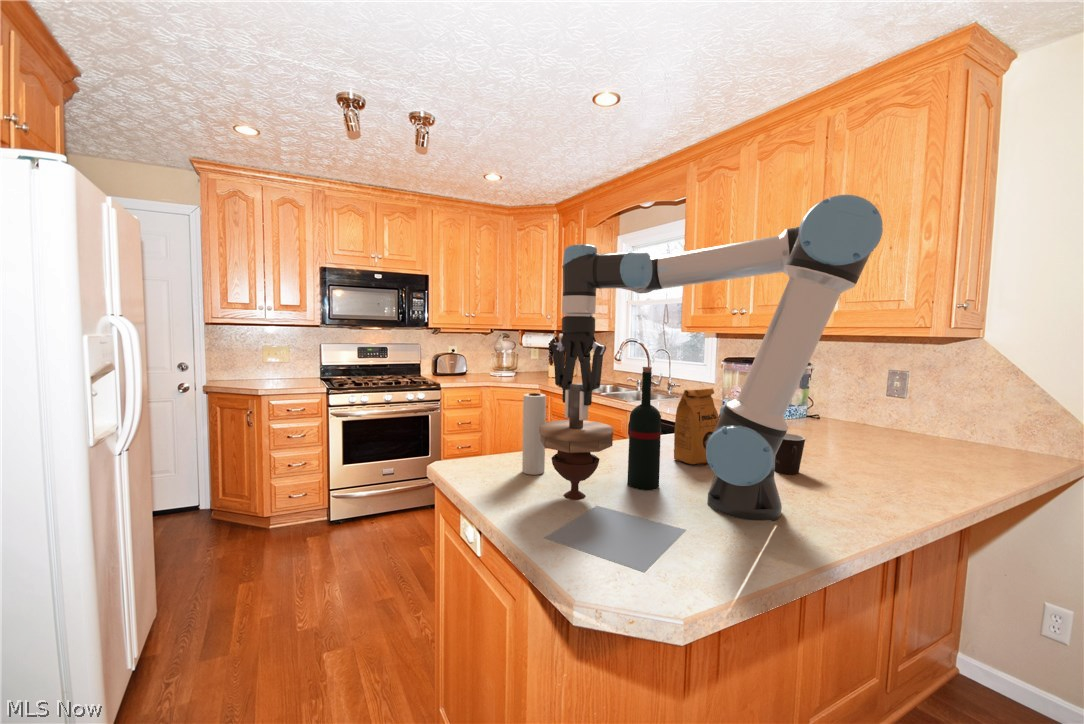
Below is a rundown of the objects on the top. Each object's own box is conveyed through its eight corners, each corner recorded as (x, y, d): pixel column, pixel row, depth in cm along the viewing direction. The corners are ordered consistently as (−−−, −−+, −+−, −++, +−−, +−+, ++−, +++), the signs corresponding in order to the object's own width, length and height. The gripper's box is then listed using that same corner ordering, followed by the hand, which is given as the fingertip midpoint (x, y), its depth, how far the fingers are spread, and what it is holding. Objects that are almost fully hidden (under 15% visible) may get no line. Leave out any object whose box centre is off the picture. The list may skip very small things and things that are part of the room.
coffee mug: (771, 464, 139) (773, 431, 138) (805, 470, 134) (807, 436, 133) (763, 474, 129) (765, 438, 129) (799, 481, 124) (801, 444, 124)
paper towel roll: (533, 477, 124) (535, 396, 123) (517, 471, 128) (518, 394, 127) (551, 471, 130) (553, 393, 128) (535, 466, 134) (537, 391, 132)
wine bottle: (642, 475, 127) (646, 364, 124) (665, 488, 117) (670, 368, 115) (616, 478, 124) (620, 365, 121) (638, 492, 114) (642, 368, 112)
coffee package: (725, 464, 139) (728, 390, 137) (690, 468, 134) (694, 391, 132) (701, 455, 148) (705, 385, 146) (669, 459, 143) (671, 387, 142)
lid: (625, 441, 111) (627, 383, 109) (589, 457, 97) (590, 391, 96) (565, 431, 120) (566, 378, 119) (523, 444, 107) (524, 384, 106)
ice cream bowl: (600, 507, 104) (602, 440, 103) (550, 506, 105) (551, 439, 103) (596, 490, 115) (598, 429, 114) (550, 489, 115) (551, 428, 114)
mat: (686, 532, 92) (686, 529, 92) (644, 575, 76) (644, 572, 76) (596, 507, 104) (596, 505, 104) (543, 540, 88) (543, 537, 88)
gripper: (618, 316, 105) (615, 420, 107) (558, 315, 114) (556, 411, 116) (602, 315, 99) (599, 425, 100) (539, 315, 108) (538, 416, 110)
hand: (576, 418), depth 108 cm, fingers closed on lid, 3 cm apart
